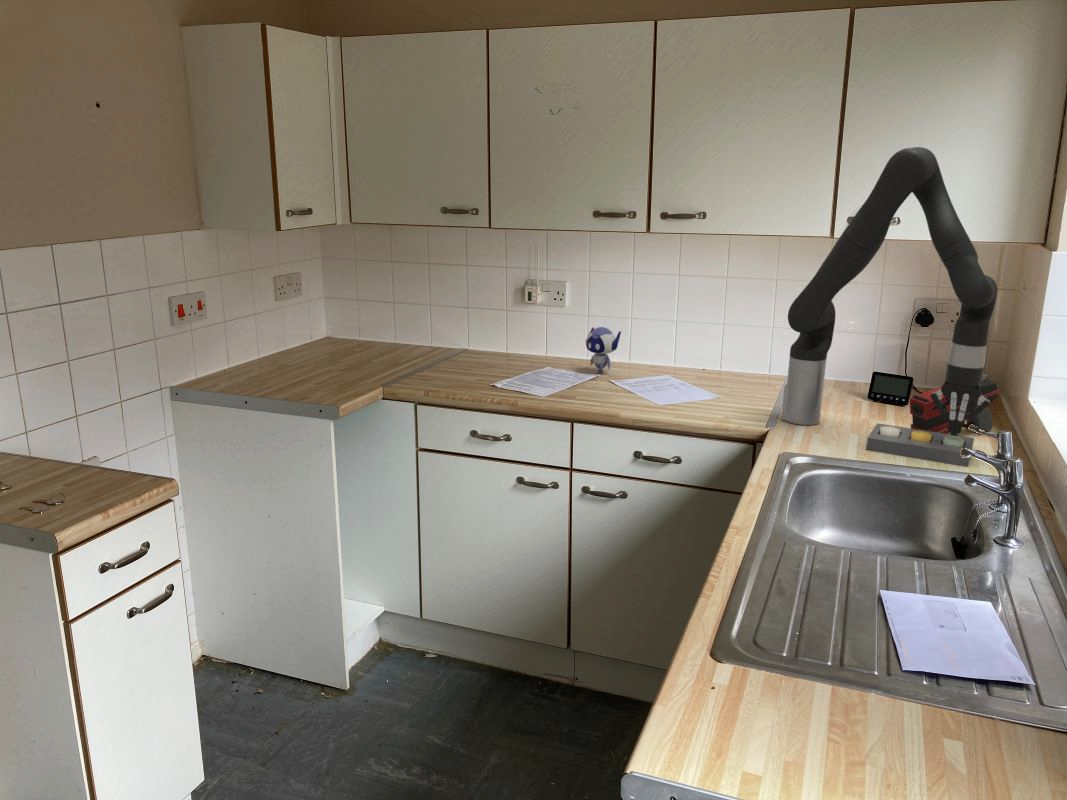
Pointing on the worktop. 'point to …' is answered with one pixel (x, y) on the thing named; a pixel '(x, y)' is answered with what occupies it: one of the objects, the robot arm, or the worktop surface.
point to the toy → (601, 346)
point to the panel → (918, 446)
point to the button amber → (921, 436)
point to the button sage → (953, 441)
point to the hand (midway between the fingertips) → (953, 434)
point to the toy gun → (934, 421)
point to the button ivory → (890, 431)
